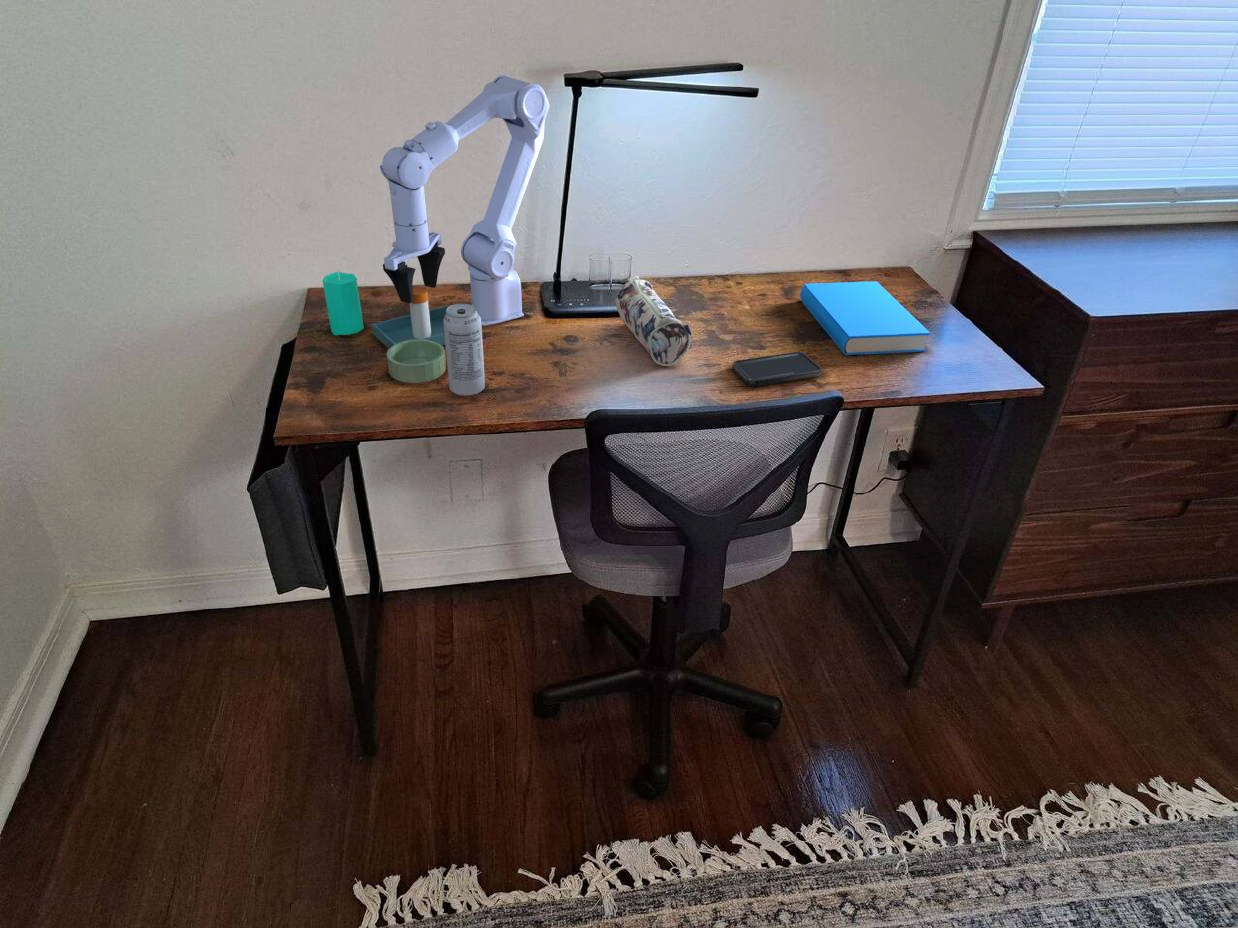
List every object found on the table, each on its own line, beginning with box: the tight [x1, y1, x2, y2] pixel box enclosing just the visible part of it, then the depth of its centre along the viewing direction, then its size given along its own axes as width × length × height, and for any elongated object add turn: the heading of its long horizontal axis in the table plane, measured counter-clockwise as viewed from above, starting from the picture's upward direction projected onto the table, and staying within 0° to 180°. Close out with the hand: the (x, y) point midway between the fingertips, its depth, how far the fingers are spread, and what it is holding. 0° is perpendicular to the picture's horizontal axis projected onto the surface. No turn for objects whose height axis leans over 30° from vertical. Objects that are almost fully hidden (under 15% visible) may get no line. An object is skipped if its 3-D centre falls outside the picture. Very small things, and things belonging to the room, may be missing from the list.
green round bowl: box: [386, 339, 447, 384], centre depth 147 cm, size 10×10×4 cm
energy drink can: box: [443, 303, 486, 397], centre depth 139 cm, size 6×6×15 cm
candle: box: [322, 269, 365, 336], centre depth 157 cm, size 6×6×12 cm
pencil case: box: [614, 275, 693, 367], centre depth 158 cm, size 22×8×10 cm, turn 18°
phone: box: [731, 351, 823, 387], centre depth 152 cm, size 8×1×15 cm
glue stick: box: [408, 286, 431, 339], centre depth 156 cm, size 4×4×9 cm
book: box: [799, 280, 931, 356], centre depth 169 cm, size 17×4×25 cm
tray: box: [371, 304, 450, 349], centre depth 158 cm, size 16×11×2 cm
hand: (418, 294), depth 154 cm, fingers open, 7 cm apart
